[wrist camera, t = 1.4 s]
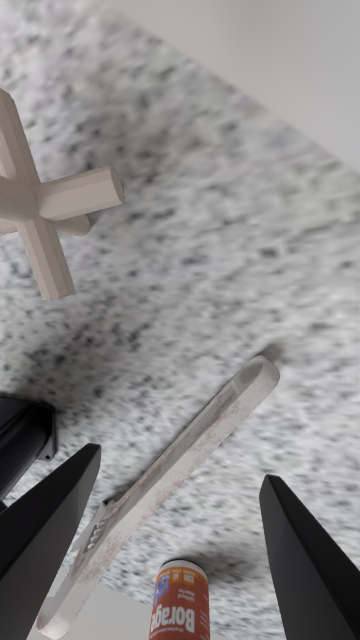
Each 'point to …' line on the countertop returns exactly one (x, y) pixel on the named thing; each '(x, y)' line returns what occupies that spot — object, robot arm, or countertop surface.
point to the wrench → (153, 491)
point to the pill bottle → (180, 603)
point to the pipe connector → (47, 204)
